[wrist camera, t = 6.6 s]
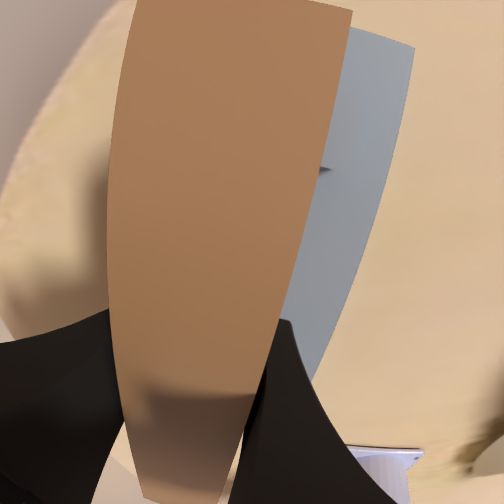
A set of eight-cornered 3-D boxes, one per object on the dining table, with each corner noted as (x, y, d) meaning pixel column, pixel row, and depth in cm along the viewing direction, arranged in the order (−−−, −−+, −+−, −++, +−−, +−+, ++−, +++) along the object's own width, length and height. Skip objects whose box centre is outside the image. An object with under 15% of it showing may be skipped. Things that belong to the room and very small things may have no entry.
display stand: (291, 411, 20) (288, 446, 17) (152, 373, 20) (135, 403, 18) (407, 52, 10) (431, 37, 8) (190, 11, 11) (164, -10, 8)
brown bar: (234, 435, 14) (211, 518, 10) (171, 417, 14) (137, 495, 10) (327, 70, 8) (352, 10, 3) (213, 51, 8) (123, -5, 3)
